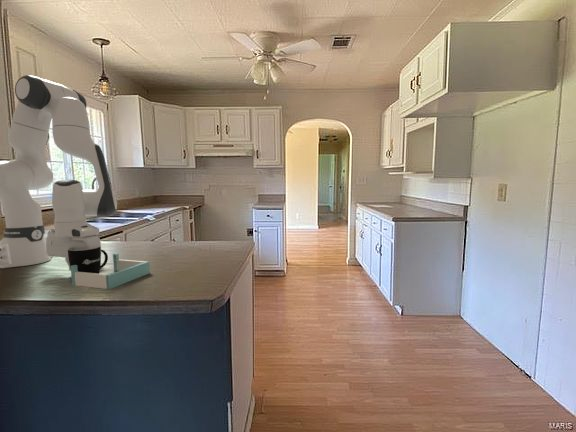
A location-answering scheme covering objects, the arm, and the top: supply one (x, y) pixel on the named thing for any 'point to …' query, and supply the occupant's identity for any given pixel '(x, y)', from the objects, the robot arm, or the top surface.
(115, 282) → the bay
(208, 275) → the top surface
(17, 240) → the robot arm
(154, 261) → the top surface
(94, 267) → the mug
